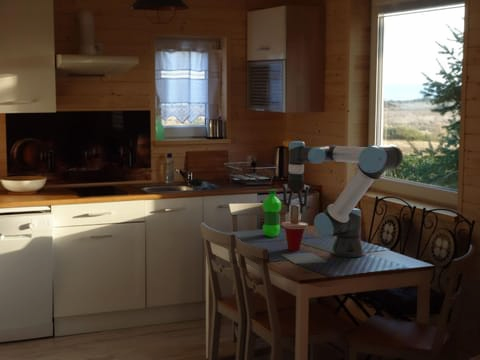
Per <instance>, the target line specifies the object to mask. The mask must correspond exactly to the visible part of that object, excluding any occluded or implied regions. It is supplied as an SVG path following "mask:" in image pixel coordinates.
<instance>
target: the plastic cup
mask: <svg viewBox="0 0 480 360" xmlns="http://www.w3.org/2000/svg"><path fill="white" fill-rule="evenodd" d="M283 227H284V231H285V237H286V238H285V239H286V243H287V249H288V251H295V252H296V251H300V249H301V246H302V240H303V236H304V232H305V229H306V227H286V226H283Z"/></svg>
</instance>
